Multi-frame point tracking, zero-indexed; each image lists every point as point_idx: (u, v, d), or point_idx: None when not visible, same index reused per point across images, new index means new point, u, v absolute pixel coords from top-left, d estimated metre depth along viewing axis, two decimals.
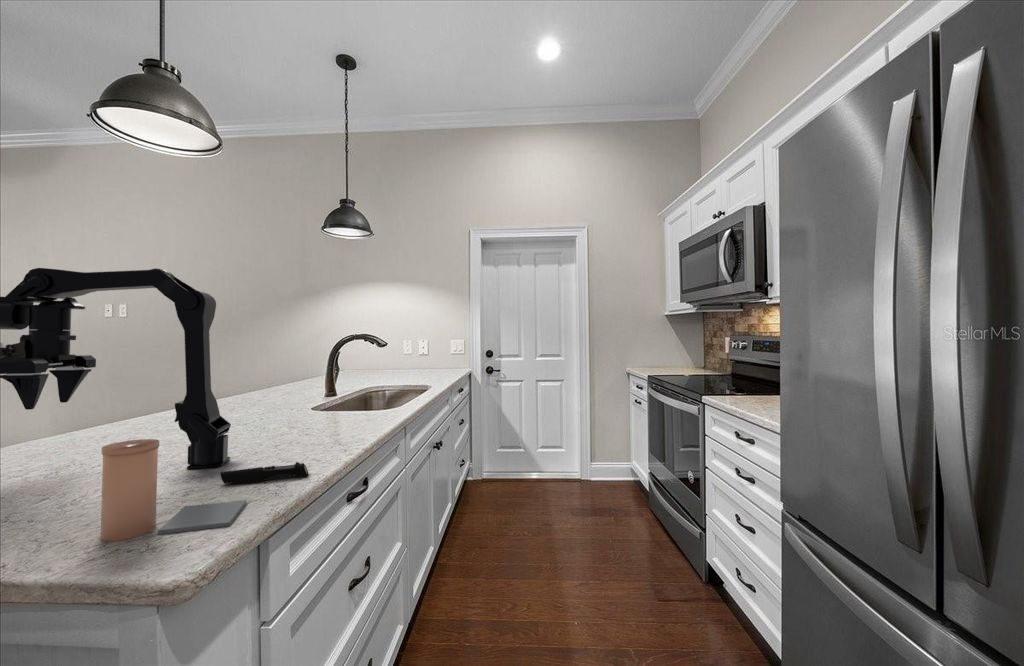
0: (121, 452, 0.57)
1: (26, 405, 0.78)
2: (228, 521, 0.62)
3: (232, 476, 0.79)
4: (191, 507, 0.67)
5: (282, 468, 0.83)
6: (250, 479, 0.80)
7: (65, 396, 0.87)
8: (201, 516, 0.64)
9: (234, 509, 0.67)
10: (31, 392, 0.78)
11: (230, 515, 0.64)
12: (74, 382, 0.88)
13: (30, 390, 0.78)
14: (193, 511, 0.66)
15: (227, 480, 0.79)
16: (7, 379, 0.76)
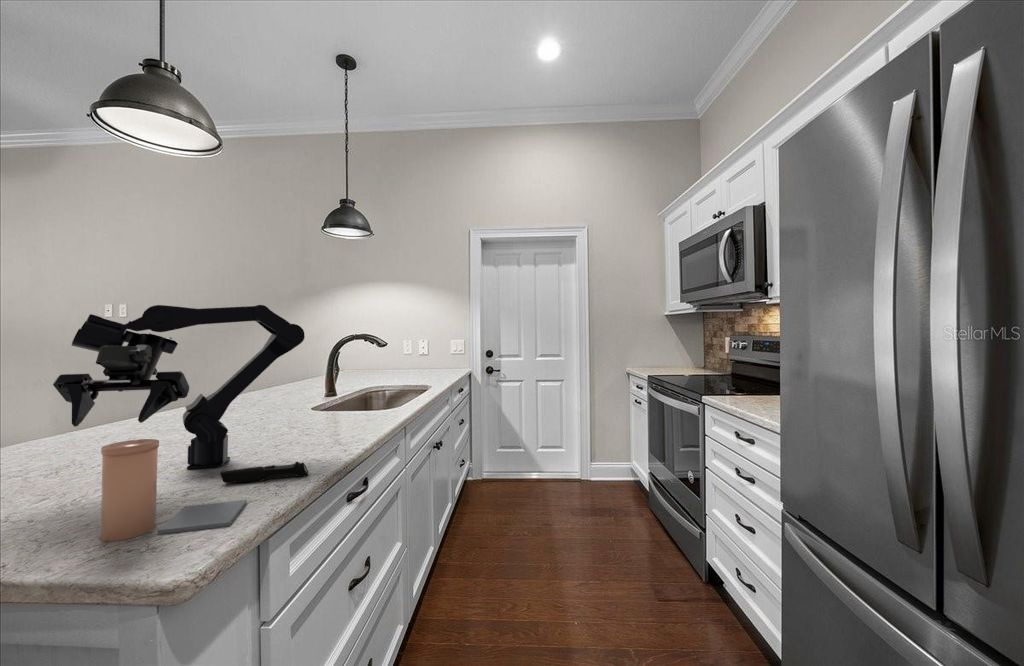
0: (121, 452, 0.57)
1: (144, 416, 0.75)
2: (228, 521, 0.62)
3: (232, 475, 0.80)
4: (191, 507, 0.67)
5: (282, 467, 0.83)
6: (250, 478, 0.80)
7: (79, 420, 0.72)
8: (201, 516, 0.64)
9: (234, 509, 0.67)
10: (156, 408, 0.77)
11: (230, 515, 0.64)
12: (86, 410, 0.74)
13: (156, 406, 0.77)
14: (193, 511, 0.66)
15: (227, 479, 0.79)
16: (163, 388, 0.78)
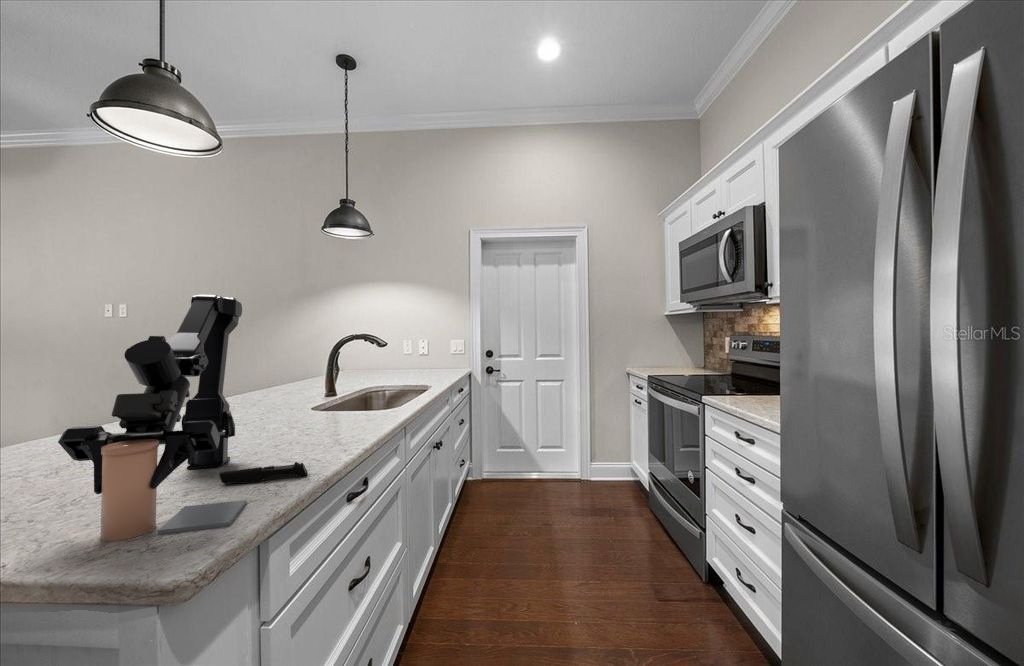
0: (121, 452, 0.57)
1: (158, 480, 0.61)
2: (228, 521, 0.62)
3: (231, 476, 0.79)
4: (191, 507, 0.67)
5: (281, 468, 0.83)
6: (249, 479, 0.80)
7: None
8: (201, 516, 0.64)
9: (234, 509, 0.67)
10: (171, 469, 0.63)
11: (230, 515, 0.64)
12: None
13: (172, 465, 0.63)
14: (193, 511, 0.66)
15: (226, 480, 0.79)
16: (180, 443, 0.64)
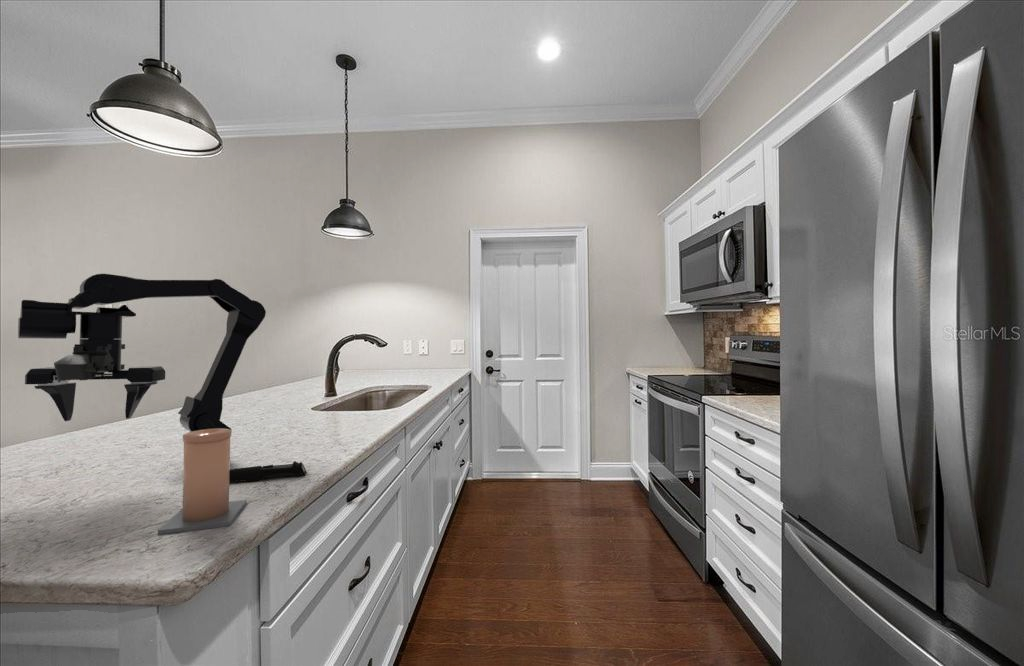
0: (208, 439, 0.62)
1: (130, 413, 0.79)
2: (228, 521, 0.62)
3: (230, 474, 0.80)
4: None
5: (280, 467, 0.84)
6: (248, 477, 0.81)
7: (70, 413, 0.77)
8: None
9: (234, 509, 0.67)
10: (139, 400, 0.80)
11: (230, 515, 0.64)
12: (71, 397, 0.77)
13: (138, 398, 0.80)
14: None
15: None
16: (138, 388, 0.78)
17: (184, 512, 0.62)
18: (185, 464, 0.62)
